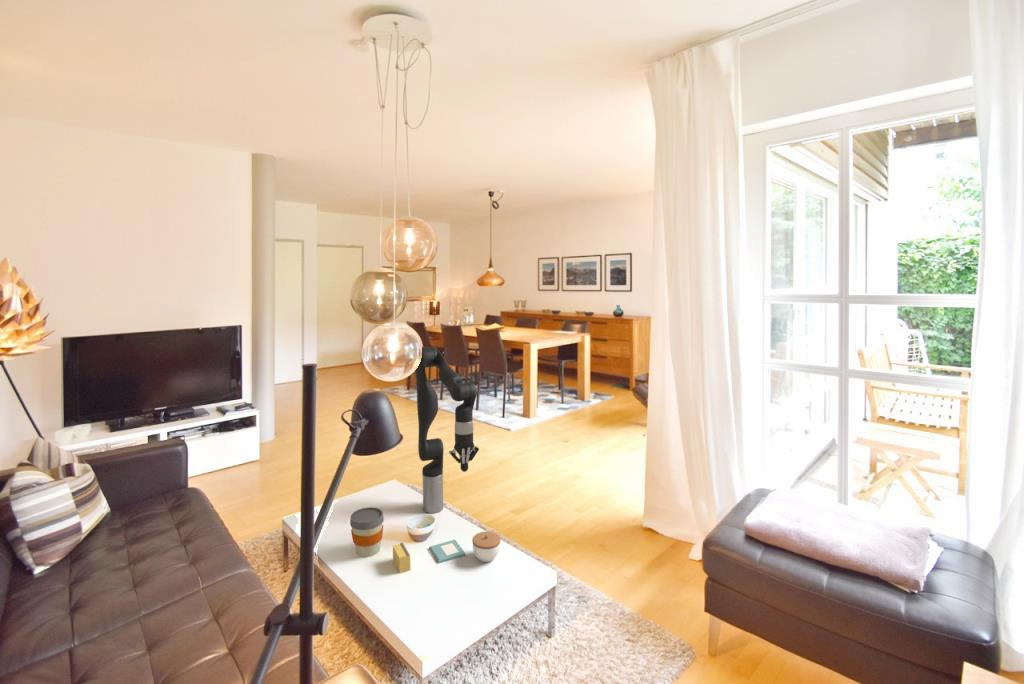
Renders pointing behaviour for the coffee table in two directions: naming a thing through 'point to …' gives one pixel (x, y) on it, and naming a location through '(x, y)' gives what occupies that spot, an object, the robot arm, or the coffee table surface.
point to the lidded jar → (486, 546)
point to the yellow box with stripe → (401, 557)
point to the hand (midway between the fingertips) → (464, 470)
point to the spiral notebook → (447, 551)
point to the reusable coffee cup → (367, 531)
